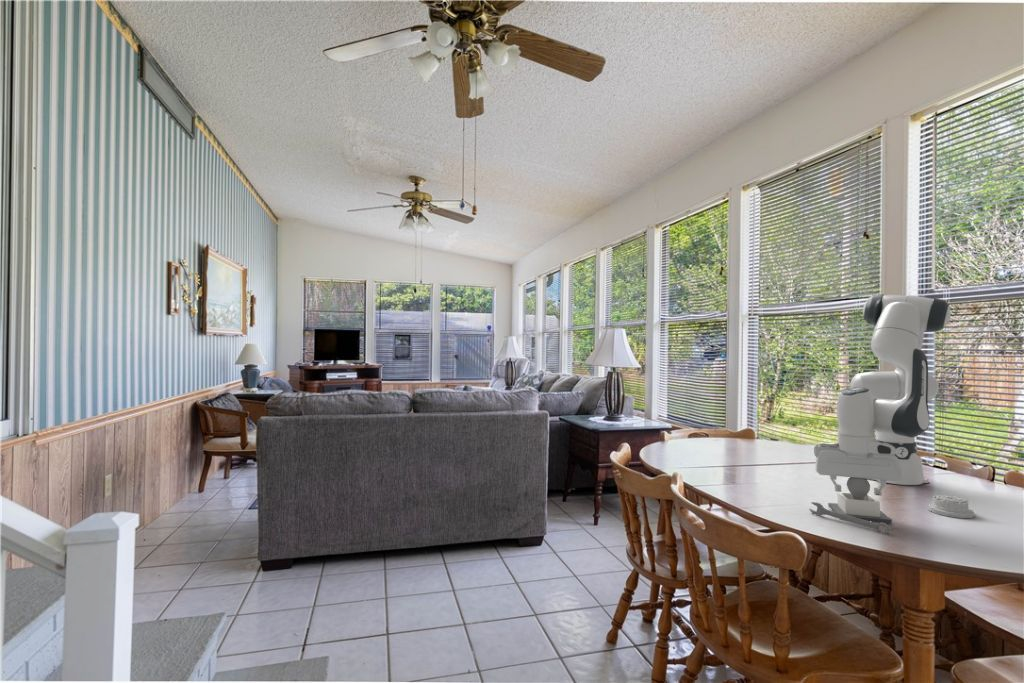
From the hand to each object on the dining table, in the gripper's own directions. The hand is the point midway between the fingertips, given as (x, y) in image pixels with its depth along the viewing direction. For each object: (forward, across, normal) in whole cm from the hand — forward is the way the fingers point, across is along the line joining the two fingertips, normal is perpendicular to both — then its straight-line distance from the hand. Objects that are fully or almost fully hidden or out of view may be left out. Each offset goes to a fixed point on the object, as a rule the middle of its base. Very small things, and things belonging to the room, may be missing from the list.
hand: (857, 493), depth 140 cm
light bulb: (+5, 0, 0) cm, 5 cm away
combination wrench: (+7, -4, -9) cm, 12 cm away
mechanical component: (+7, +24, +12) cm, 28 cm away
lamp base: (+6, 0, 0) cm, 6 cm away
